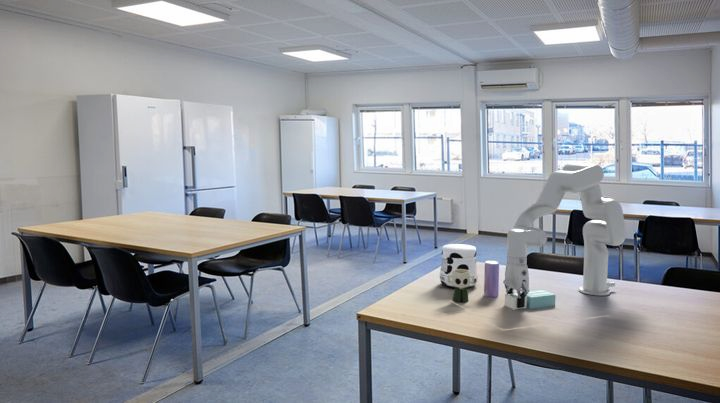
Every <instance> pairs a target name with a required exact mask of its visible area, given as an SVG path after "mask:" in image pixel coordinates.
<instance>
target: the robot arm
mask: <svg viewBox="0 0 720 403" xmlns="http://www.w3.org/2000/svg"><path fill="white" fill-rule="evenodd" d="M604 172H605V171H604V169H603V167H602V166H600V165H599V164H598V163H582V162H570V163H567V164H565V165H564V166H563V167H562V170H554V171H553V172H551V173H550V174H549V175H548V177H547V179H546V182H545V183H544V186H543V187H542V190H541V192H540V194H539V195H538V198H537V200H536V201H535V202H534V203H532V204H531V205H530V206H528V207H527V208H526V209H525V210H524V211H523V212H522V213H520V215H519V216H518V218H517V220H516V222H515V223H514V226H513V228H510V229H509V230H508V231H507V237H506V238H507V240H506V241H507V242H506V265H505V272H504V279H503V282H502V283H503V285H504V289H505V293H506V294H513V293H515V292H514V291H516V293H518V298H517V308H522V307H525V298H526V295H527V294H528V293H529V291H530V290H529V288H530V278H529V276H530V275H529V274H530V273H529V268H528V264H527V259H528V258H527V256H528V248H541V247H542V246H544V245H545V244H546V243H547V240H548V235H547V233H546V232H545V231H544V230H543V229H541V228H538V227H533V226H531V225H532V224H533V223H534V222H535V221H536V220H538V219H539V218H542V217H544V216H547V215H550V214H552V213H555V212H556V211H557V210H558V208H559V207H560V205H561V202H562V200H563V199H564V196H565V194H566V193H573V194H577V193H579V196H580V203H581V208H582V213H583V215H584V217H585V218H587V219H591V220H589V221H587V222H586V223H585V224H583V227H582V236H583V237H582V238H583V244H584V255H583V256H584V257H583V276H582V277H583V278H582V279H583V280H582V283H583V284H582V286H579V287H578V291H579V292H580V293H582V294H586V295H589V296H597V297H598V296H600V297H602V296H603V297H604V296H608V295H611V290H610V289H609V288H613V287H615V286H616V283H615V282H614V281H612V282H609V281H608V269H609V268H608V266H609V250H608V248H607V245H608V246H613V247H614V246H617V247H618V246H621V245H622V244H623V243H624V242H625V240H626V236H627V235H626V234H627V232H626V231H627V230H626V225H625V224H626V223H625V217H624V210H623V207H622V205H621V203H620V202H619V201H618V200H616V199H613V198H607V197H604V196H603V193H602V190H601V185H600V183H601V182H602V181H603V179H604V175H605V174H604ZM520 292H522V293H521V294H520Z"/></svg>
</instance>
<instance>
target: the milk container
mask: <svg viewBox="0 0 720 403" xmlns="http://www.w3.org/2000/svg"><path fill="white" fill-rule="evenodd" d="M455 269H465V270H469V271H470V275H474V283H470V284H469V286H468V287H466V288H467V289H469V288H472V287H475V286H476V285H477V283H478V280H479V274H478V270H477V247H476V246H475V245H470V244H462V243H460V244H459V243H453V244H450V243H449V244H445V245H443V246H442V248H441V267H440V271H439V280H440V283H441V285H443V286H445V287H447V288H453V289H455V286H453V284H452V283H448V275H452V271H453V270H455ZM450 280H452V277H450ZM470 281H472V277H470Z"/></svg>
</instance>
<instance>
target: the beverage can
mask: <svg viewBox="0 0 720 403" xmlns="http://www.w3.org/2000/svg"><path fill="white" fill-rule="evenodd" d="M499 262H500V261H497V260H486V261H484V276H483V278H484V280H483V281H484V284H483V295H484V297H487V298H497V297H499V290H500V284H499V281H500V264H499Z"/></svg>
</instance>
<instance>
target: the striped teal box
mask: <svg viewBox="0 0 720 403" xmlns="http://www.w3.org/2000/svg"><path fill="white" fill-rule="evenodd" d="M521 293H522V291H520V294H521ZM526 297H527V305H526V308H528V309H537V308H545V307H555V306H556V294H555V293H553V292H550V291H548V290H546V289H545V290H544V289H543V288H541V289H537V290H534V289H533V290H529V293H528V294H527V295H526Z"/></svg>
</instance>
